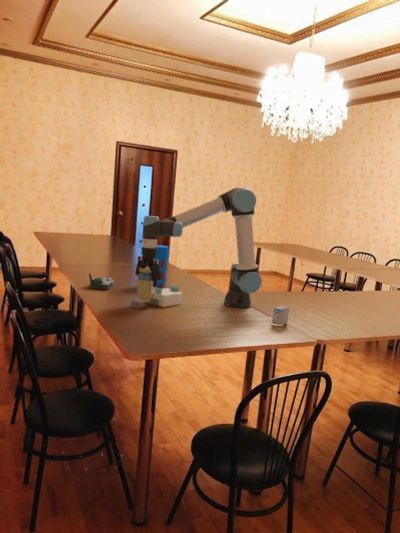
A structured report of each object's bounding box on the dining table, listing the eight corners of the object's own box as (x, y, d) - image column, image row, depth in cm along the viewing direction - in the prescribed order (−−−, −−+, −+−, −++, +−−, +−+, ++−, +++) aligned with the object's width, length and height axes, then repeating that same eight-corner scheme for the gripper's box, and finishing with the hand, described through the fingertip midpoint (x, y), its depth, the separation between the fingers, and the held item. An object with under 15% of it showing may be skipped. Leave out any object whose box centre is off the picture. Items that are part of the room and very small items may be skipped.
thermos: (145, 284, 285) (148, 244, 281) (161, 284, 289) (165, 245, 285) (151, 288, 275) (154, 247, 271) (167, 288, 279) (171, 247, 275)
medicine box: (279, 322, 228) (281, 305, 227) (287, 324, 226) (289, 307, 224) (271, 325, 222) (273, 307, 221) (279, 327, 220) (281, 310, 218)
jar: (138, 300, 227) (139, 270, 225) (135, 295, 236) (137, 266, 233) (156, 300, 230) (158, 270, 227) (153, 295, 238) (155, 267, 236)
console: (182, 303, 245) (183, 288, 244) (142, 310, 224) (143, 293, 223) (166, 298, 253) (168, 283, 252) (126, 304, 232) (127, 288, 231)
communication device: (118, 283, 281) (119, 269, 280) (107, 291, 258) (109, 275, 256) (98, 281, 282) (99, 267, 281) (86, 288, 258) (88, 273, 257)
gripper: (129, 244, 233) (127, 287, 237) (158, 250, 219) (155, 296, 222) (140, 243, 238) (138, 286, 242) (169, 250, 224) (166, 294, 228)
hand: (146, 291), depth 232 cm, fingers closed on jar, 9 cm apart
